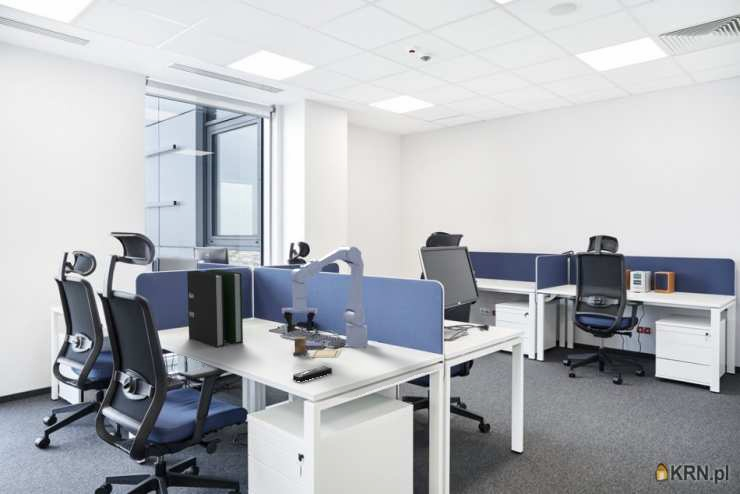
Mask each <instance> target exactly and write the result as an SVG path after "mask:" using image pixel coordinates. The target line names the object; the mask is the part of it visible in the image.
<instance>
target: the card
mask: <svg viewBox="0 0 740 494" xmlns="http://www.w3.org/2000/svg"><path fill="white" fill-rule="evenodd" d="M341 352H342V351H341V349H314V351H313V352H312V354H311V355H310V358H339V357H338V356H339V355H340V353H341Z"/></svg>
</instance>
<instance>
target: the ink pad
mask: <svg viewBox="0 0 740 494" xmlns="http://www.w3.org/2000/svg"><path fill="white" fill-rule="evenodd" d="M324 344H325V343H324V342H306V350H324V349H325V347H324Z"/></svg>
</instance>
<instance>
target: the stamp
mask: <svg viewBox="0 0 740 494" xmlns="http://www.w3.org/2000/svg"><path fill="white" fill-rule="evenodd" d="M306 344H307V337H306V336H296V337H295V338H294V352H293V353H292V355H293V357H306V356H307V354H308V353H309V352H308V350H309V349H306Z"/></svg>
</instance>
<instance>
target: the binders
mask: <svg viewBox="0 0 740 494" xmlns="http://www.w3.org/2000/svg"><path fill="white" fill-rule="evenodd" d="M186 273H187V275H186V276H187V306H188V307H187V312H188V315H187V318H188V338H189V340H193V341H196V342H198V343H202V344H203V345H204V344H205V345H207V346H210V347H213V348H216V349H218V347H219V346H221V347H225V346H226V344H225V343H229V344H232V345H237V343H240V344H243V343H244V335H243V334H244V332H243V331H244V329H243V326H244V325H243V324H244V323H243V284H242V283H243V282H242V281H243V280H242V277H243V275H242V272H234V271H228V270H222V269H221V270H220V269H205V271H201V270H193V271H192V270H189V271H186Z"/></svg>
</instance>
